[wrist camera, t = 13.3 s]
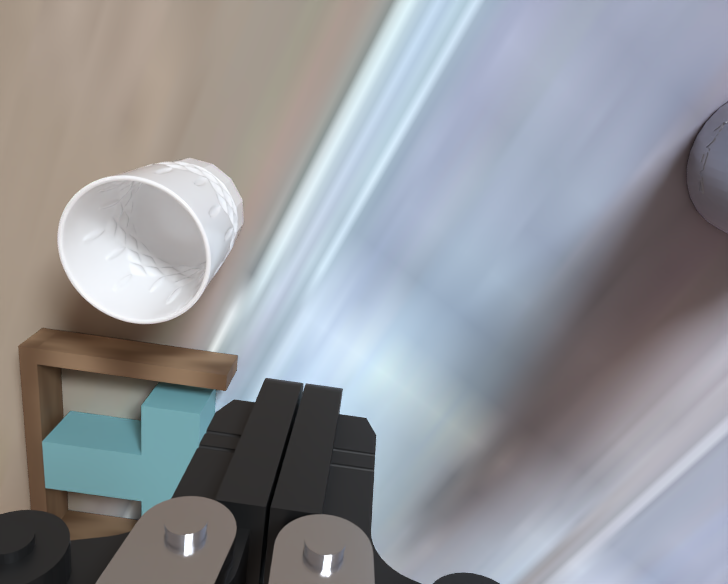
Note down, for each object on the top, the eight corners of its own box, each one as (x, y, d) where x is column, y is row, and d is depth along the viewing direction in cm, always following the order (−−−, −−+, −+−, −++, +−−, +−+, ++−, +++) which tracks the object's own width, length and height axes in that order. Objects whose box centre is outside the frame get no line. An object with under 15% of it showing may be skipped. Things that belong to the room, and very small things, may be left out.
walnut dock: (237, 355, 44) (226, 375, 41) (225, 543, 50) (215, 572, 47) (42, 327, 44) (18, 346, 41) (54, 519, 50) (34, 546, 47)
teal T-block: (216, 384, 45) (200, 413, 41) (210, 514, 49) (194, 551, 46) (68, 364, 45) (38, 391, 41) (74, 496, 49) (48, 531, 46)
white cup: (274, 239, 41) (237, 291, 32) (173, 283, 42) (110, 345, 33) (216, 128, 39) (159, 149, 29) (112, 178, 40) (26, 214, 31)
